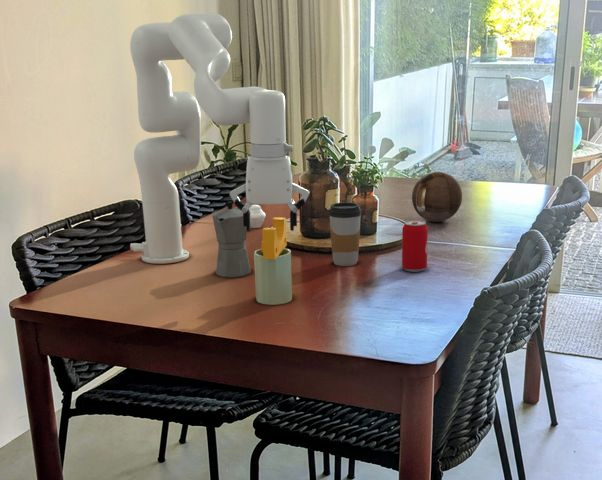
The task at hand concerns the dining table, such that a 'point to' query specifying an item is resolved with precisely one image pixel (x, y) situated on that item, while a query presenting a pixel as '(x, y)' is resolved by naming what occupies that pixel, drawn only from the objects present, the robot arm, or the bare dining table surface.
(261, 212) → the white rounded piece
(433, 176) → the wooden sphere
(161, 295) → the dining table surface
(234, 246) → the coffeepot
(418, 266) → the beverage can
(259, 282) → the tumbler
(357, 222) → the coffee cup
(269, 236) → the yellow toy block
